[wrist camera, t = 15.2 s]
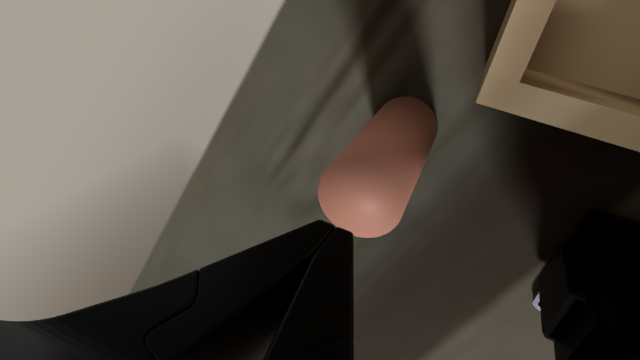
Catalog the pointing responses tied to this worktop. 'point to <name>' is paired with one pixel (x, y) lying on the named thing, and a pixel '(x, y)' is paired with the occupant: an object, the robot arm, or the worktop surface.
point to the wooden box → (569, 67)
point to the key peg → (379, 169)
